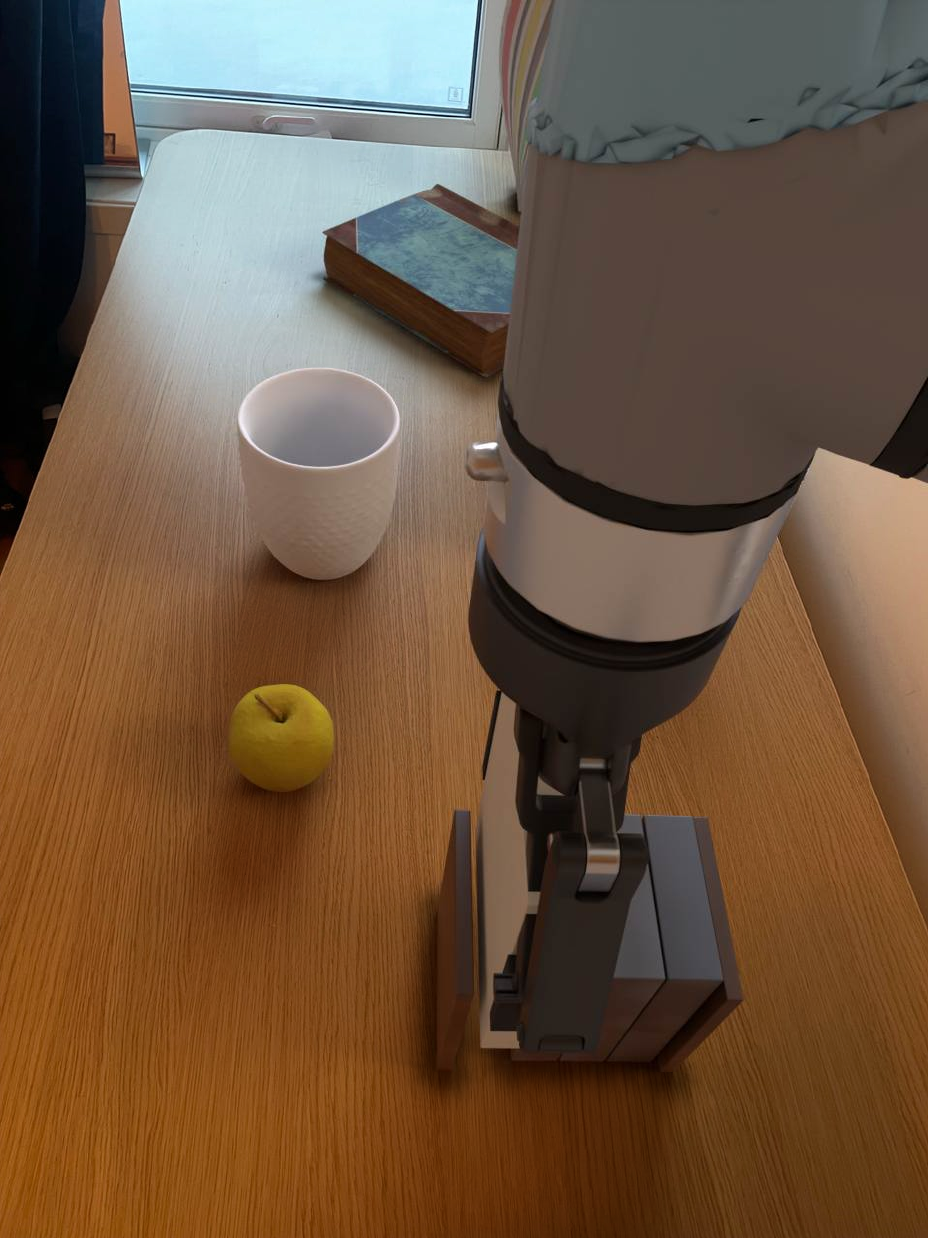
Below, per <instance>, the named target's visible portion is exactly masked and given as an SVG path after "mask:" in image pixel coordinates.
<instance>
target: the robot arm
mask: <svg viewBox="0 0 928 1238" xmlns="http://www.w3.org/2000/svg"><path fill="white" fill-rule="evenodd" d="M529 109H530V110H529V115H528V118H527V123H526V128H525V130H526V141H527V142H528V143H529V149H528V158H527V166H526V175H525V184H524V193H523V202H522V211H520V220H519V227H520V228H519V237H518V246H517V255H516V263H515V272H514V281H513V290H512V299H511V307H510V316H509V325H508V334H507V343H506V351H505V360H504V368H502V369H503V371H502V375H501V378H500V382H499V389H498V396H497V397H498V399H497V408H498V411H497V415H496V422H495V434H496V441H484V440H483V441H474V442H472V443H471V444H470V445H469V446H468V447H467V448H466V456H465V465H464V469H465V472H466V473H467V476H468V477H470V478H471V479H472V480H473V481H478V482H487V485H486V491H485V493H486V494H485V500H484V507H483V508H484V509H483V526H482V528H481V531H480V533H479V535H478V541H477V545H476V546H477V547H476V552H475V560H474V566H473V567H474V568H473V576H472V583H471V590H470V597H469V598H470V599H469V606H468V612H467V613H468V614H467V615H468V616H467V619H468V620H467V623H468V633H469V639H470V642H471V646H472V649H473V651H474V653H475V656H476V658H477V661H478V662H479V664H480V666H481V668H482V670H483V671H484V673H485V674H486V675H487V677H488V678H489V679H490V681H491V682H492V683H493V684H494V685H495V687H496V688H497V690H496V691H495V695H494V700H493V706H492V712H491V717H490V723H489V727H488V733H487V734H488V735H487V738H486V744H485V750H484V754H483V760H482V765H481V770H482V771H481V775H482V777H481V778H482V779H481V780H482V781H485V776H486V771H487V766H488V761H489V756H490V751H491V745H492V740H493V735H494V730H495V725H496V719H497V714H498V709H499V704H500V699H501V694H502V692H503V693H504V694H505V695H506V696H507V697H508V698H509V699H511V700H512V701H513V702H514V703H516V707H515V718H514V730H513V731H514V737H515V741H516V744H517V748H518V752H519V761H518V773H517V785H516V797H515V804H516V809H517V814H518V818H519V822H520V825H521V827H522V828H523V829H524V830H526V831H527V841H526V867H527V883H528V892H540V897H539V904H538V910H537V914H526V915H525V918H524V921H523V924H522V927H521V930H520V933H519V936H518V942H517V953H516V955H512V954H508V956H507V960H506V963H505V966H504V969H503V972H502V973H494V975H493V995H494V1000H493V1003H492V1006H491V1010H490V1031H517V1041H519V1048H520V1049H521V1051H522V1053H566V1054H580V1053H590V1054H595V1053H596V1051H597V1048H598V1043H599V1041H600V1035H601V1030H602V1026H603V1021H604V1017H605V1013H606V1008H607V1004H608V999H609V995H610V991H611V986H612V982H613V977H614V973H615V969H616V964H617V960H618V955H619V951H620V947H621V942H622V938H623V933H624V929H625V925H626V920H627V916H628V911H629V907H630V903H631V899H632V898H633V896H634V894H635V892H636V890H637V888H638V886H639V885H640V883H641V881H642V879H643V877H644V875H645V872H646V866H647V864H648V862H649V851H648V848H647V843H646V840H645V839H644V836H643V835H642V834H634V833H616V832H617V831H619V829H620V828H621V827H622V825H623V822H624V814H626V804H627V797H628V788H629V781H630V780H629V779H630V773H631V765H632V763H633V762H634V760H636V759H637V757H638V756H639V754H640V751H641V746H642V739H643V738H642V737H643V735H645V734H646V733H648V732H650V731H651V730H653V729H655V728H656V727H659V726H661V725H662V724H664V723H666V722H668V721H669V720H671V719H673V718H675V717H676V716H678V715H679V714H680V713H682V712H683V711H684V710H686V709H687V708H689V706H690V705H691V704H692V703H693V702H695V700H696V699H697V698H698V697H699V696H700V694H701V693H702V692H703V690H704V689H705V687H706V686H707V684H708V682H709V680H710V678H711V676H712V674H713V672H714V670H715V668H716V666H717V663H718V661H719V659H720V657H721V655H722V653H723V651H724V649H725V647H726V645H727V643H728V641H729V638H730V636H731V634H732V632H733V630H734V628H735V626H736V623H737V621H738V619H739V617H740V614H741V611H742V608H743V607H744V606H745V605H746V604H747V603H748V601H749V599H750V597H751V594H752V592H753V590H754V589H755V585H756V583H757V581H758V579H759V577H760V575H761V573H762V571H763V568H764V566H765V564H766V562H767V559H768V557H769V555H770V553H771V551H772V549H773V546H774V544H775V542H776V540H777V537H778V536H779V534H780V531H781V529H782V528H783V526H784V523H785V521H786V519H787V517H788V515H789V513H790V511H791V509H792V506H793V505H794V503H795V500H796V498H797V497H798V494H799V493H800V490H801V488H802V486H803V484H804V482H805V481H806V478H807V475H808V473H809V472H810V468H811V467H810V466H811V464H812V462H813V460H814V458H815V456H816V452H817V451H818V449H822V450H824V451H827V452H830V453H832V454H833V455H834V454H835V455H838V456H841V457H843V458H846V459H849V460H852V461H856V462H859V463H862V464H865V465H868V466H869V467H873V468H875V469H879V470H882V471H884V472H887V473H890V474H893V475H896V476H898V477H899V478H901V479H904V480H905V479H906V480H908V479H909V480H910V479H911V478H913V479H915V480H917V481H920V482H923V483H926V484H928V0H555V3H554V8H553V14H552V19H551V24H550V30H549V35H548V40H547V46H546V51H545V56H544V62H543V67H542V72H541V78H540V83H539V88H538V94H537V97H536V98H535V99H534V100H533V101H532V102H531V103H530V105H529ZM538 776H539V778H540V779H541V780H542V781H543V782H544V783H546V784H547V785H549V786H550V787H552V788H553V789H555V790H556V791H558V792H559V793H561V794H563V795H540V794H537V787H538Z"/></svg>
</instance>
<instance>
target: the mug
mask: <svg viewBox="0 0 928 1238" xmlns="http://www.w3.org/2000/svg"><path fill="white" fill-rule="evenodd" d="M236 428H237V438H238V439H237V440H238V452H239V460H240V468H241V476H242V481H243V485H244V493H245V494H244V495H245V497H246V502H247V507H248V509H249V511H250V516H251V517H250V518H252V519H251V520H252V521H253V522H254V525H255V529H256V531H257V532H258V533H259V535H260V539H261V540H262V541H263V543H264V544H265V546H266V548H267V549H268V551H269V552H270V553H271V555H272V556H273V557H274V558H275V559H276V560H278V562H280V564H282V565H283V566H284V567H285V568H287V569H288V570H290V571H291V572H293V573H295V574H297V575H299V576H301V577H304V578H307V579H312V580H318V581H325V580H326V581H328V580H336V579H340V578H342V577H345V576H347V575H350V574H352V573H354V572H355V571H357V570H358V569H359V568H361V567H362V566H363V565H364V564H365V563H366V562H367V561H368V559H369V558H371V556H372V554H373V553H374V552H376V550H377V548H378V546H379V544H380V543H381V541H382V537H383V536H384V535H385V533H386V531H387V526H388V524H389V522H390V517H391V515H392V512H393V506H394V503H395V499H396V492H397V487H398V485H397V483H398V482H397V481H398V480H397V479H398V475H399V462H400V447H401V442H400V441H401V440H400V437H401V417H400V412H399V409H398V406H397V404H396V402H395V400H394V399H393V397H392V396H391V395H390V394H389V393H388V392H387V391H386V390H385V389H384V388H383V387H382V386H380V385H379V384H378V383H376V382H375V381H373V380H371V379H370V378H367V377H366V376H365V375H361V374H358V373H355V372H351V371H348V370H344V369H338V368H332V367H306V368H297V369H292V370H288V371H284V372H281V373H279V374H275V375H273V376H270V377H268V378H267V379H264V380H263V381H261V382H259V383H258V384H257V385H255V386H254V387H253V388H252V389H251V390H250V391H249V392H248V393H247V394H246V395H245V397H244V398H243V399H242V402H241V403H240V405H239V408H238V410H237V417H236Z"/></svg>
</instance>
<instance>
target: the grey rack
mask: <svg viewBox="0 0 928 1238" xmlns="http://www.w3.org/2000/svg"><path fill="white" fill-rule="evenodd" d="M452 816H453V817H452V824H451V828H450V835H449V840H448V845H447V852H446V857H445V862H444V867H443V874H442V880H441V885H440V891H439V897H438V902H437V929H436V930H437V936H436V937H437V940H436V941H437V942H436V943H437V944H436V945H437V946H436V948H437V949H436V951H437V952H436V956H437V957H436V958H437V959H436V961H437V965H436V966H437V967H436V970H437V971H436V1070H439V1071H443V1070H444V1071H445V1070H446V1071H450V1070H452V1069H453V1066H454V1062H455V1059H456V1056H457V1054H458V1049H459V1047H460V1046H459V1045H460V1043H461V1040H462V1036H463V1034H464V1030H465V1026H466V1022H467V1020H468V1017H469V1013H470V1010H471V1006H472V1003H473V1001H474V996H475V967H474V966H475V964H474V963H475V961H474V915H473V914H474V913H473V912H474V910H473V908H474V907H473V868H472V867H473V866H472V864H473V863H472V861H473V860H472V859H473V858H472V820H471V819H472V815H471V809H460V808H459V809H454V811H453V815H452ZM710 826H711V825H710V822H709V818H708V817H707V816H706V817H705V816H692V815H668V814H667V815H665V814H664V815H663V814H642V815H641V814H636V813H635V814H634V813H633V814H632V813H630V814H629V813H625V814H624V822H623V825H622V827H621V828H620V829H619V831H617V832H616V833H634V834H642V835H643V836H644V839H645V840H646V843H647V848H648V851H649V862H648V864H647V866H646V872H645V875H644V877H643V879H642V881H641V883H640V885H639V886H638V888H637V890H636V892H635V894H634V896H633V898H632V899H631V903H630V907H629V911H628V916H627V920H626V925H625V929H624V933H623V938H622V942H621V947H620V951H619V955H618V960H617V964H616V969H615V973H614V977H613V982H612V986H611V991H610V995H609V999H608V1004H607V1008H606V1013H605V1017H604V1021H603V1026H602V1030H601V1035H600V1041H599V1043H598V1048H597V1051H596V1053H595V1054H590V1053H580V1054H566V1053H522V1051H521V1049H520V1048H510V1059H511V1061H521V1062H522V1061H524V1062H525V1061H531V1062H534V1061H535V1062H557V1061H558V1060H559V1061H560V1062H605V1061H606V1062H612V1063H613V1062H617V1063H619V1062H622V1063H625V1062H627V1063H628V1062H629V1063H632V1062H633V1063H652V1061H653V1060H654V1059H655V1058H656V1057H657V1065H658V1071H659V1072H660V1073H673V1072H675V1071H676V1070H677V1069H678V1068H679V1067H680V1066H681V1065H682V1064H683V1063H684V1061H686V1060H687V1059H688V1057H690V1056H691V1055H692V1054H693V1052H694V1051H695V1050H696V1049H698V1048H699V1047H700V1045H702V1044H703V1043H704V1041H705V1040H706V1039H708V1038H709V1037H710V1035H712V1033H713V1032H714V1031H715V1030H716V1029H718V1027H719V1026H720V1025H721V1024H722V1023H723V1022H724V1021H725V1020H726V1019H727V1018H728V1017H729V1016H730V1015H731V1014H732V1013H733V1012H734V1011H735V1010H736V1009H737V1008H738V1007H739V1006H740V1005H741V1004H742V1003H743V1002H744V1000H745V997H744V993H743V992H744V991H743V988H742V982H741V977H740V973H739V968H738V963H737V958H736V952H735V946H734V943H733V936H732V932H731V928H730V923H729V917H728V913H727V907H726V902H725V897H724V892H723V887H722V881H721V877H720V871H719V867H718V861H717V856H716V851H715V847H714V842H713V837H712V831H711V827H710Z"/></svg>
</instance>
